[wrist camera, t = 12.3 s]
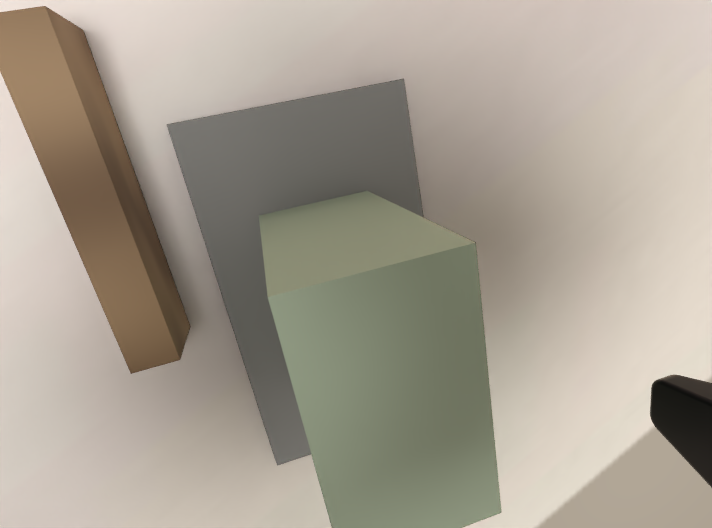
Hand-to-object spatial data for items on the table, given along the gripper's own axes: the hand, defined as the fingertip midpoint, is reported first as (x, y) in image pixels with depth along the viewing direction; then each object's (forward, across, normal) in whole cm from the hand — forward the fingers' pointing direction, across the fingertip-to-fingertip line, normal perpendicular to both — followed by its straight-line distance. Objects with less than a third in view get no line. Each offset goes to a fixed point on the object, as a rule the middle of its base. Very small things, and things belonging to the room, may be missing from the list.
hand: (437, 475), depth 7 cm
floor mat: (+10, 0, 0) cm, 10 cm away
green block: (+10, 0, 0) cm, 10 cm away
